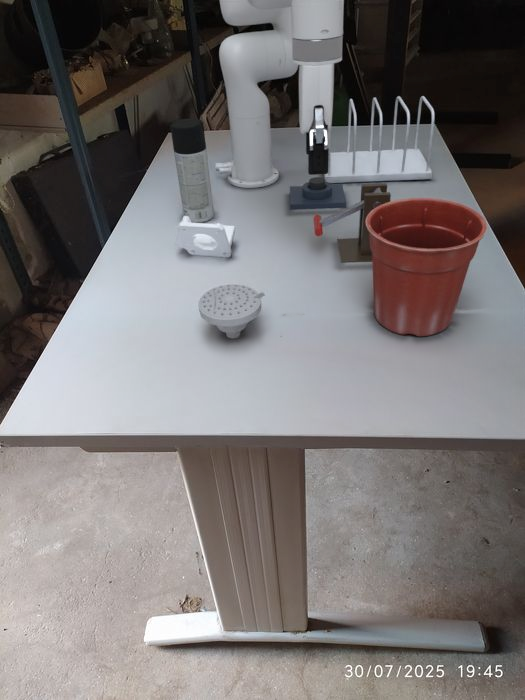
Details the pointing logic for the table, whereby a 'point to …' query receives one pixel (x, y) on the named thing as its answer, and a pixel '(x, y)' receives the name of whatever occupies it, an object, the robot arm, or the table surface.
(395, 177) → the file sorter
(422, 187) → the table surface
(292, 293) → the table surface
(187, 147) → the spray can
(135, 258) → the table surface
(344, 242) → the brown lever stand
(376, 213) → the flower pot
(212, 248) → the mounting bracket
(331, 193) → the button box
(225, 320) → the showerhead
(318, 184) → the button
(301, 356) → the table surface
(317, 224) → the tap lever
